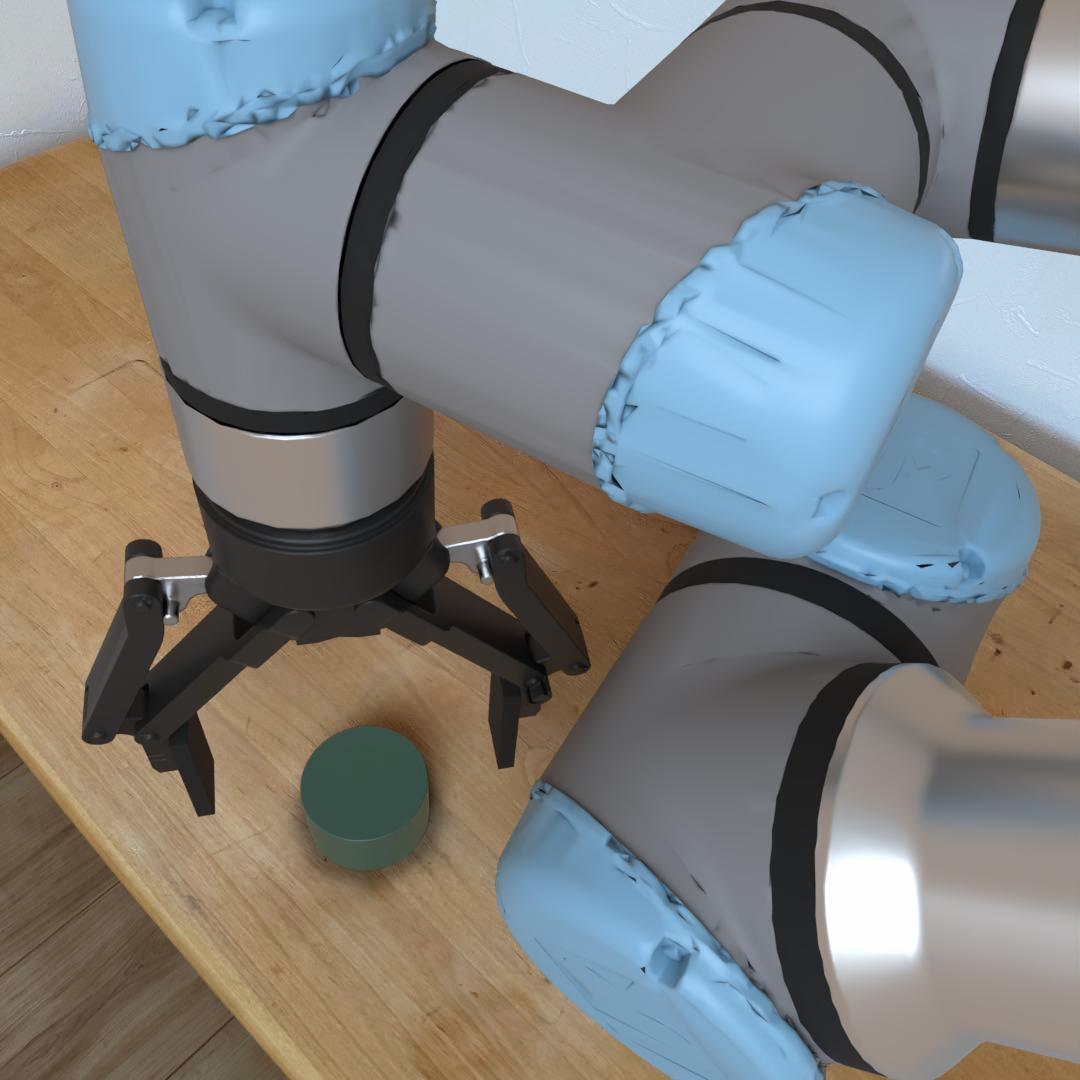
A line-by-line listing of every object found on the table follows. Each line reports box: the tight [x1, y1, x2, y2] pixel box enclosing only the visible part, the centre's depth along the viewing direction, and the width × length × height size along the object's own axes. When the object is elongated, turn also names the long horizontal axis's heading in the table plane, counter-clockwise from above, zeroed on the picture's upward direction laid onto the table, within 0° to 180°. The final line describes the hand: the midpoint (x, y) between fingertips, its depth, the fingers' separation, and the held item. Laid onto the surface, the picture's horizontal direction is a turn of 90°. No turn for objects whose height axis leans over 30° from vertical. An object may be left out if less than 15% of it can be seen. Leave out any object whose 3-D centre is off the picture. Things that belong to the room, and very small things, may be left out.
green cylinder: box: [299, 725, 430, 872], centre depth 52 cm, size 6×6×4 cm
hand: (357, 765), depth 50 cm, fingers open, 13 cm apart
